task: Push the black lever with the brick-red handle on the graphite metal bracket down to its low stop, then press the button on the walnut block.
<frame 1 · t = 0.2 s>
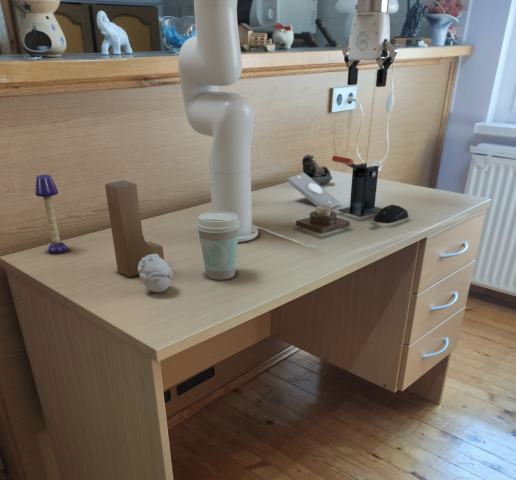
hand: (366, 85, 139), 31 cm above the table, tool pointing down, fingers open, 9 cm apart
light switch: (312, 206, 154), on the table
button: (323, 211, 131), point 5 cm above the table, slide at 0.1 cm
lever: (355, 167, 137), point 13 cm above the table, hinge at 25.0°
gaming mouse: (387, 223, 139), on the table
coffee cup: (220, 275, 108), on the table
toy lamp: (58, 251, 122), on the table
button block: (322, 229, 134), on the table
bison figurine: (316, 186, 175), on the table
frog figurine: (157, 291, 101), on the table
wooden block: (141, 270, 111), on the table
bracket: (361, 213, 146), on the table
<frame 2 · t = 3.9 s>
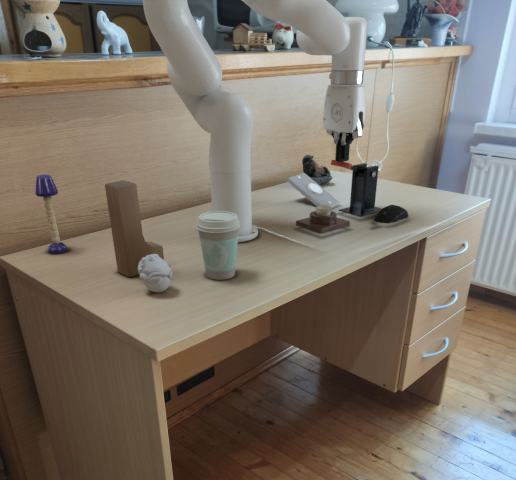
hand: (342, 160, 133), 15 cm above the table, tool pointing down, fingers closed
lever: (354, 168, 137), point 13 cm above the table, hinge at 19.3°, touching gripper
everything else where it was.
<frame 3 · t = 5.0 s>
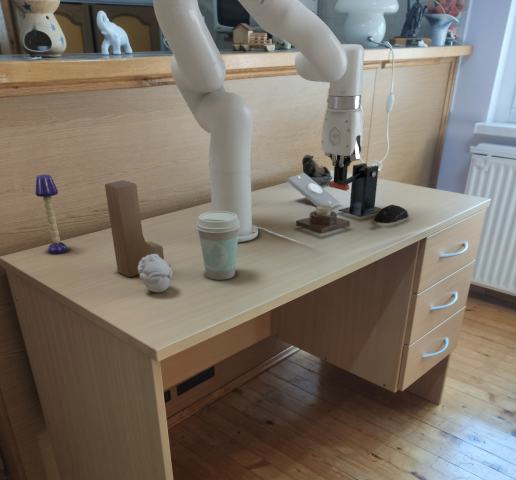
hand: (340, 182, 135), 10 cm above the table, tool pointing down, fingers closed
lever: (353, 178, 138), point 10 cm above the table, hinge at -11.2°, touching gripper
everything else where it was.
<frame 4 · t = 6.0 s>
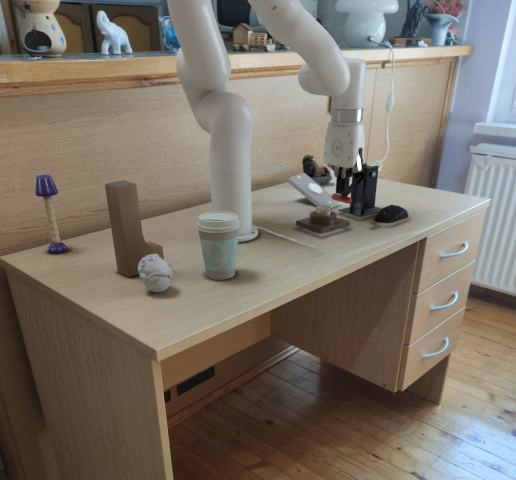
hand: (342, 193, 137), 7 cm above the table, tool pointing down, fingers closed
lever: (354, 184, 139), point 9 cm above the table, hinge at -32.8°, touching gripper
everything else where it was.
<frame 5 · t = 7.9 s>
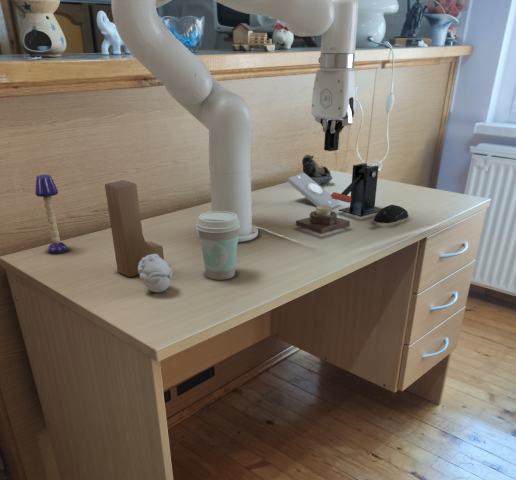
hand: (331, 150, 127), 19 cm above the table, tool pointing down, fingers closed
lever: (354, 183, 139), point 9 cm above the table, hinge at -30.7°
everything else where it was.
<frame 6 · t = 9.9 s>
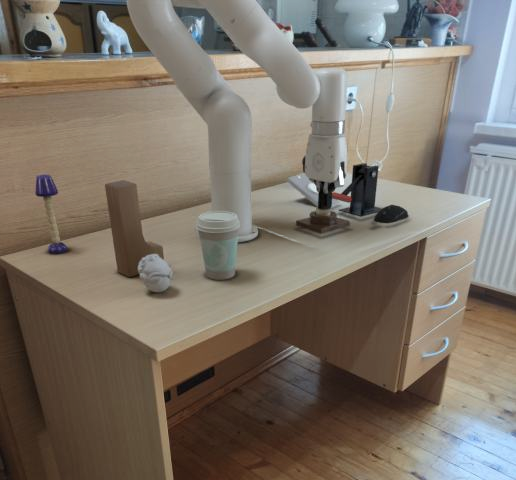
hand: (324, 208, 131), 5 cm above the table, tool pointing down, fingers closed
button: (323, 212, 132), point 4 cm above the table, slide at -0.2 cm, touching gripper
everything else where it was.
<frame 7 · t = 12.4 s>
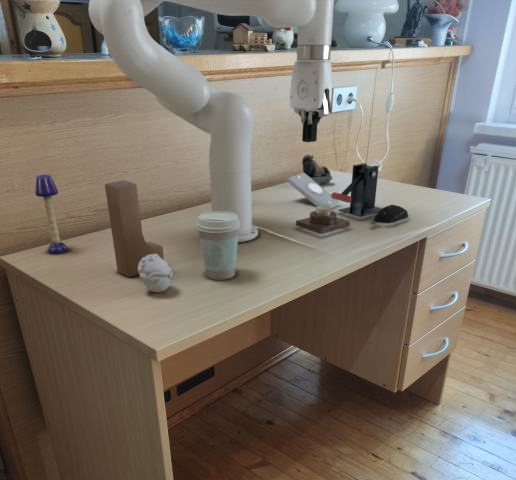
hand: (309, 141, 128), 20 cm above the table, tool pointing down, fingers closed
button: (323, 211, 131), point 5 cm above the table, slide at 0.1 cm
everything else where it was.
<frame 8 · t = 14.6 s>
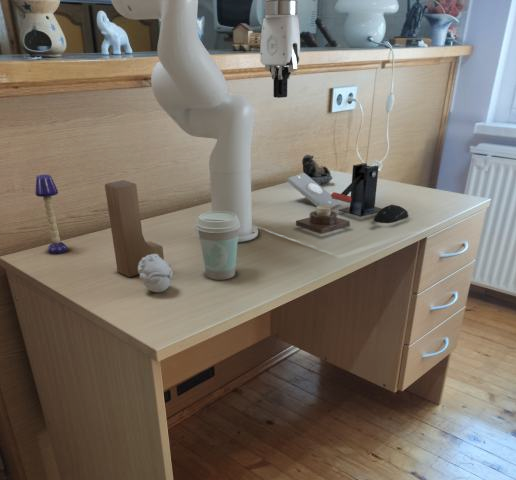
hand: (280, 97, 133), 29 cm above the table, tool pointing down, fingers closed
nothing on the table moved.
at the end: lever at -31° (first picture: +25°); button pushed in 1.0 cm at the most during the clip, back to where it started at the end; button slide at 0.1 cm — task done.
